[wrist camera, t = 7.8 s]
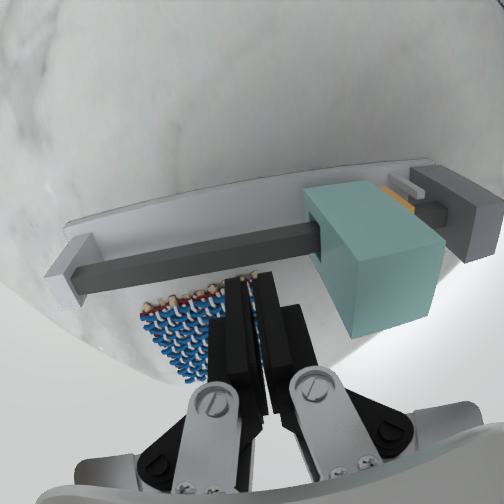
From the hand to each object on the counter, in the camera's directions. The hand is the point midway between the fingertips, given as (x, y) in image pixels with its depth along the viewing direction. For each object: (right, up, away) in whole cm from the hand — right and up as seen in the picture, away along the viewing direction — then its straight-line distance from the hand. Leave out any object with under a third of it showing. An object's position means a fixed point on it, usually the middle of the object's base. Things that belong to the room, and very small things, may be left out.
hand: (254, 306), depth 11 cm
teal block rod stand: (0, +5, +9) cm, 10 cm away
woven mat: (-3, -5, +15) cm, 16 cm away
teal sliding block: (+5, +4, +6) cm, 9 cm away
